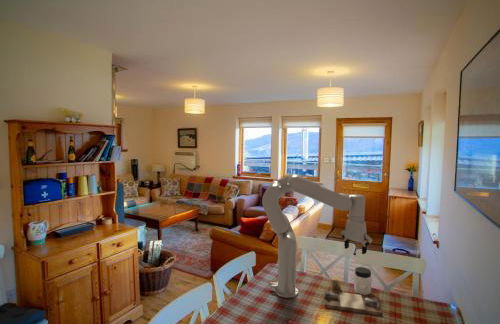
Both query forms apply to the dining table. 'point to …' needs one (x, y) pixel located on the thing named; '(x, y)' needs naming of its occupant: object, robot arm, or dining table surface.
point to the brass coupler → (336, 284)
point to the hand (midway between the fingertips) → (355, 250)
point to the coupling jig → (352, 302)
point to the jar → (362, 280)
